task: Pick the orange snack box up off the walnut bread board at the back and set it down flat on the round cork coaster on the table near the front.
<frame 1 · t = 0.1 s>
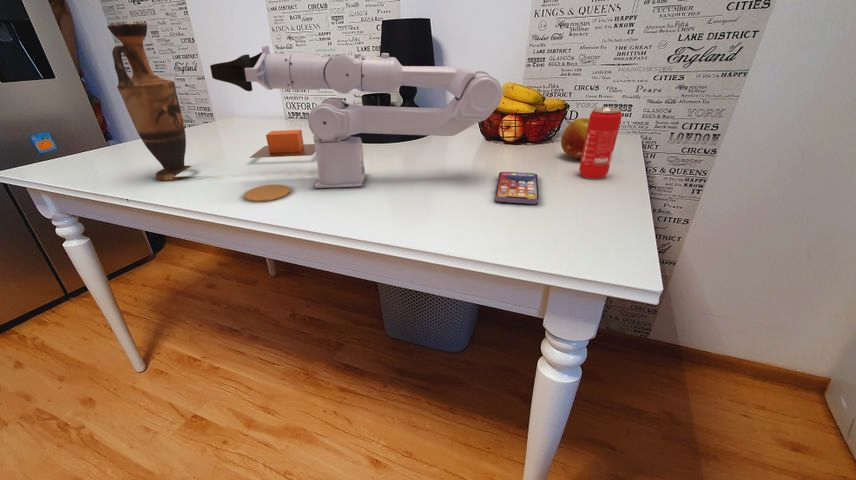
hand: (221, 69, 73), 22 cm above the table, tool horizontal, fingers open, 7 cm apart
cork coaster: (267, 193, 79), on the table
fruit: (579, 158, 89), on the table
smartphone: (516, 189, 74), on the table
bread board: (288, 156, 104), on the table
vase: (177, 176, 94), on the table
snack box: (287, 150, 103), point 1 cm above the table, touching bread board
beverage can: (592, 176, 78), on the table
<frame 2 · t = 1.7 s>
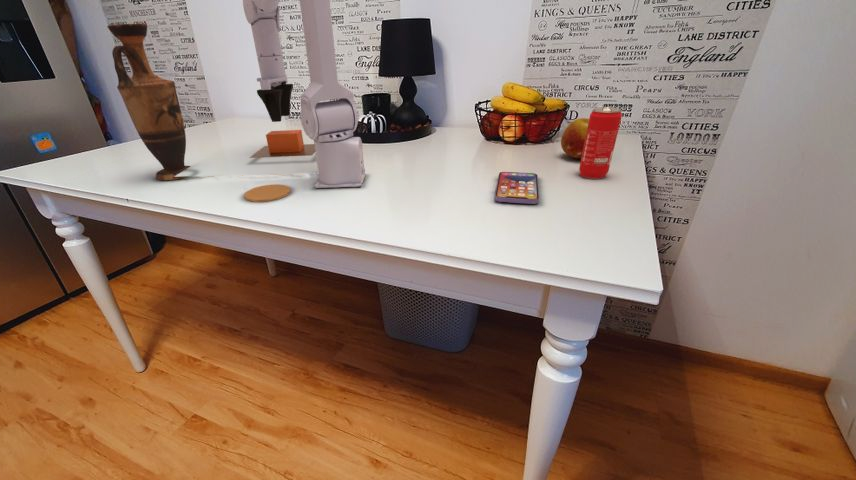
hand: (281, 118, 99), 9 cm above the table, tool pointing down, fingers open, 7 cm apart
nothing on the table moved.
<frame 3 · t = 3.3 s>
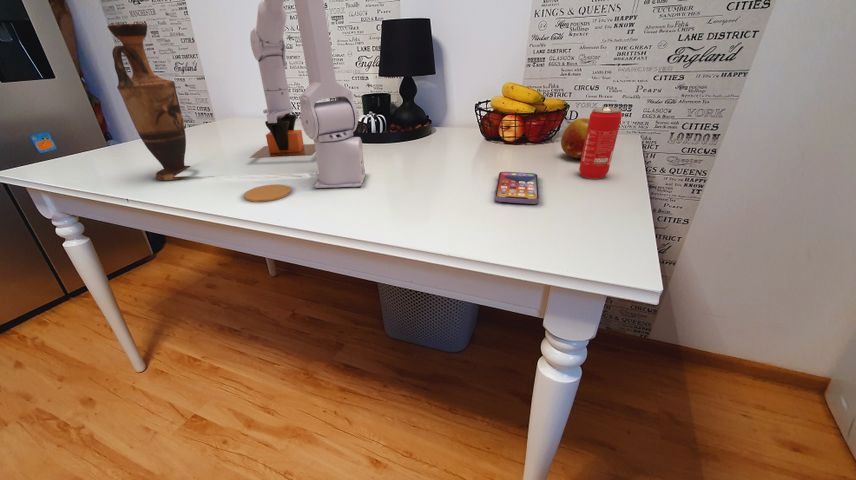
hand: (286, 147, 103), 2 cm above the table, tool pointing down, fingers closed on snack box, 4 cm apart
snack box: (287, 150, 103), point 1 cm above the table, touching bread board, gripper
everything else where it was.
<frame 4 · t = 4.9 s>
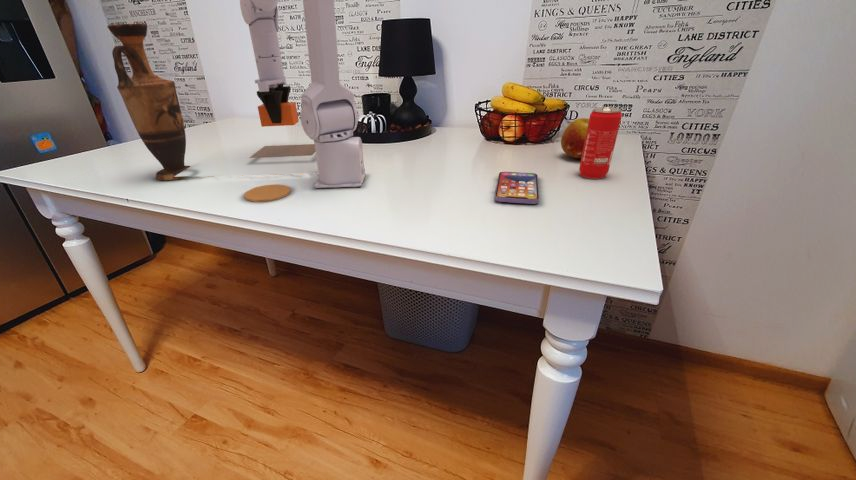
hand: (279, 121, 97), 9 cm above the table, tool pointing down, fingers closed on snack box, 4 cm apart
snack box: (280, 124, 97), point 8 cm above the table, touching gripper
everything else where it was.
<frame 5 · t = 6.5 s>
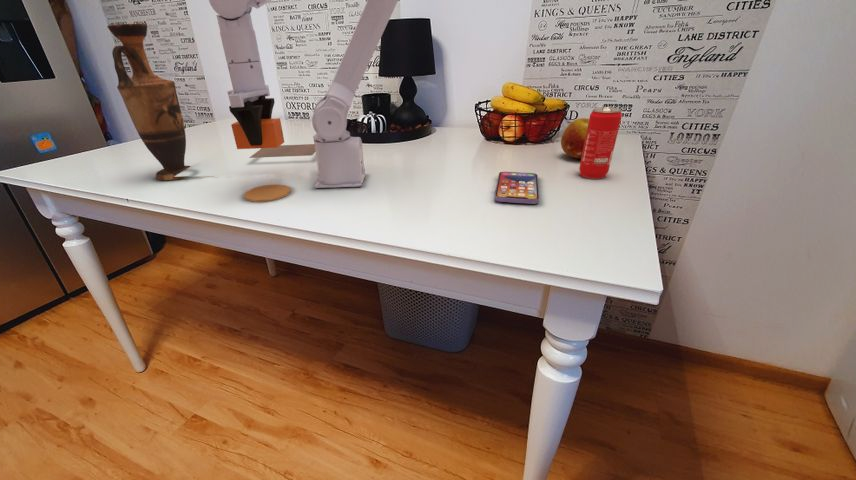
hand: (261, 142, 77), 9 cm above the table, tool pointing down, fingers closed on snack box, 4 cm apart
snack box: (261, 145, 77), point 9 cm above the table, touching gripper
everything else where it was.
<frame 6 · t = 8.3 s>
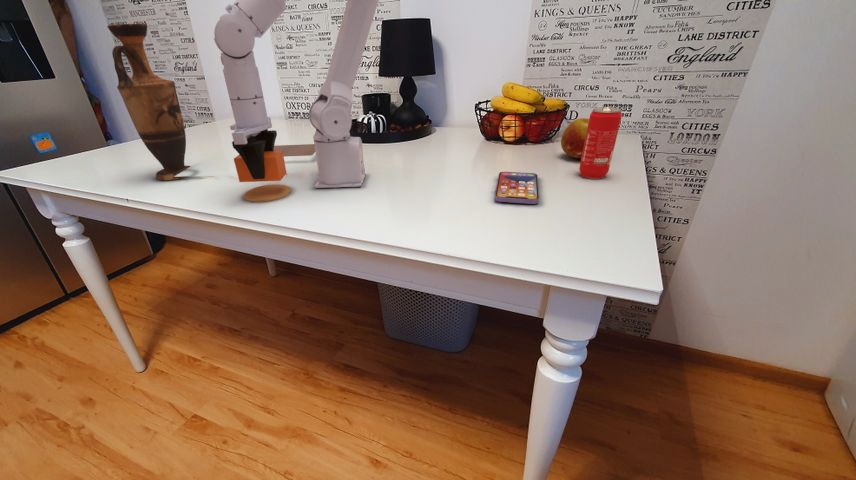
hand: (263, 174, 77), 4 cm above the table, tool pointing down, fingers closed on snack box, 4 cm apart
snack box: (263, 178, 77), point 3 cm above the table, touching gripper
everything else where it was.
when the fingers open (1 cm above the table, at t = 9.7 s): snack box stays where it is, resting on cork coaster.
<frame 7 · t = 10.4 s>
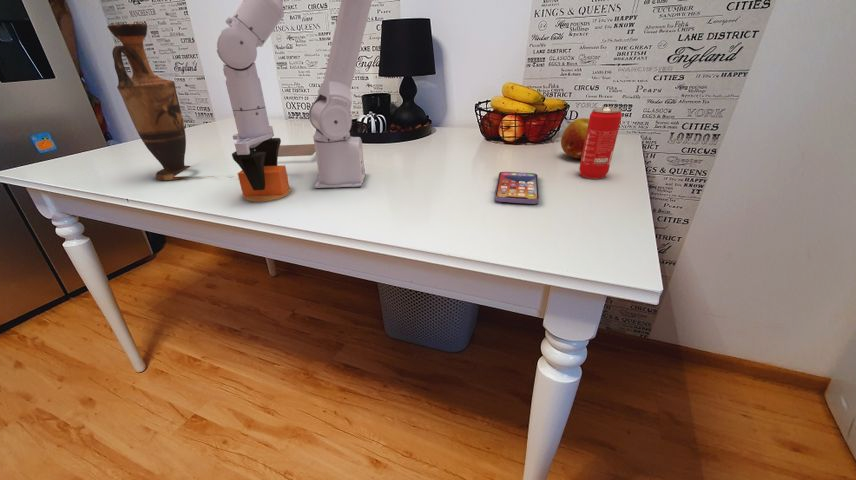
hand: (265, 183, 78), 2 cm above the table, tool pointing down, fingers open, 7 cm apart
snack box: (266, 191, 79), resting on cork coaster
everything else where it was.
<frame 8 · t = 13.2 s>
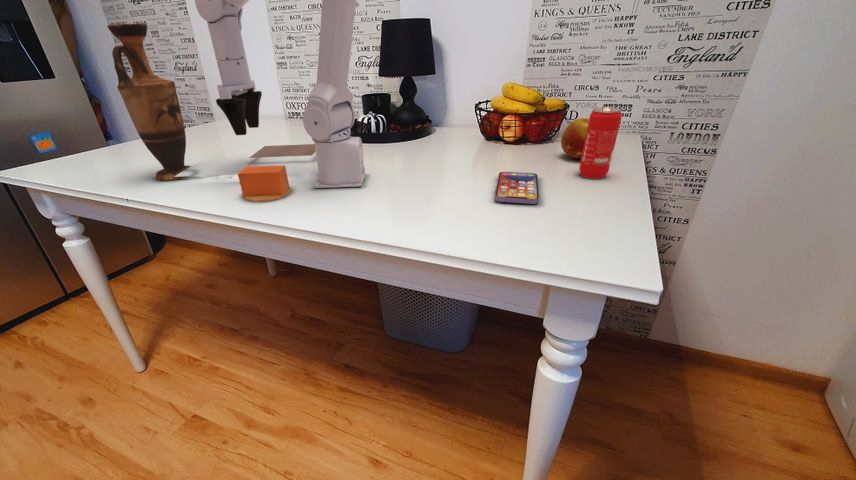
hand: (247, 131, 86), 9 cm above the table, tool pointing down, fingers open, 7 cm apart
nothing on the table moved.
at the end: snack box 0.1 cm off-centre on the cork coaster, point 0.4 cm above the cork coaster's base; snack box tilted 0°; the gripper is holding nothing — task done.
